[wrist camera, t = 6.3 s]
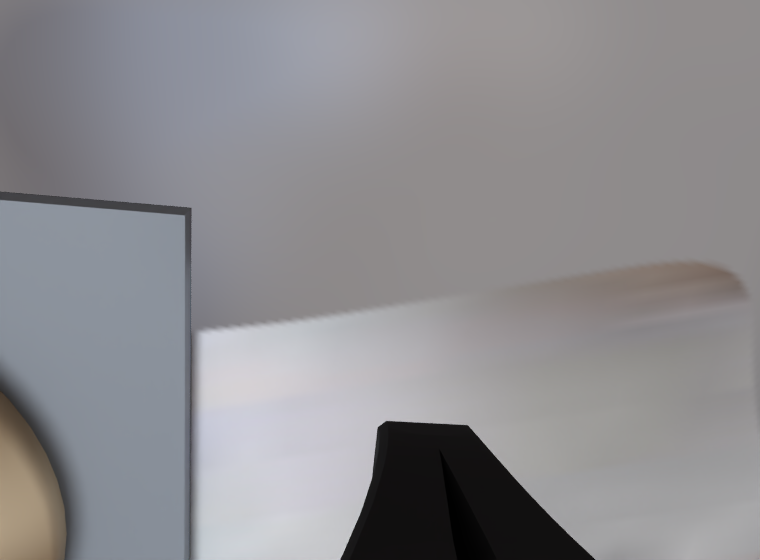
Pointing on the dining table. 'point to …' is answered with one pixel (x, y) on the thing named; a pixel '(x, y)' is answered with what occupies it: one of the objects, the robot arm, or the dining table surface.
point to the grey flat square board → (103, 364)
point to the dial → (27, 493)
